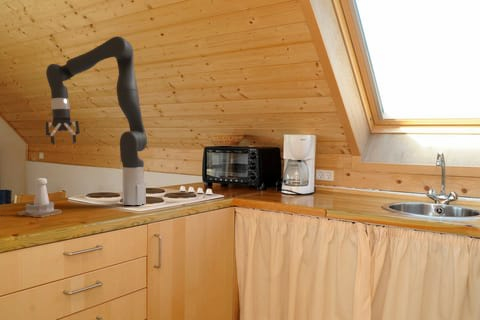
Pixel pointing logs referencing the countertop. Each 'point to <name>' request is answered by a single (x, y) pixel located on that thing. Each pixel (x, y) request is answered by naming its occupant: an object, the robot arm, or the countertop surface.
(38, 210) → the cup holder
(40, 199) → the salt shaker
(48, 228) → the countertop surface
